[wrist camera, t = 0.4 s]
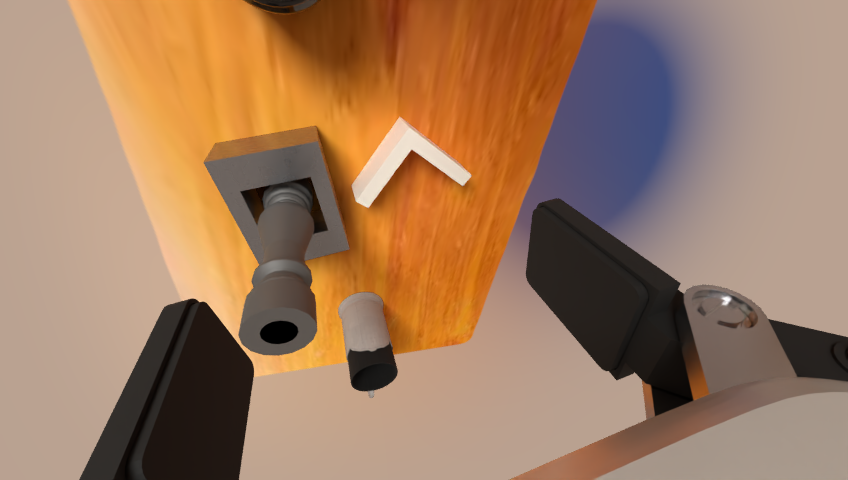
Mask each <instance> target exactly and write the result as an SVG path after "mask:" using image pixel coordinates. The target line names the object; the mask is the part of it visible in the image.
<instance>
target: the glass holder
mask: <svg viewBox="0 0 848 480" xmlns="http://www.w3.org/2000/svg"><path fill="white" fill-rule="evenodd" d="M338 313H339V316H340V318H341V319H342V325H343V333H344V341H345V349H346V357H347V360H348V364H349V371H350V379H351V385H352V387H353V388H354V389H356V390H359V391H368V394H369V397H370V398H373V397H374V390H377V389H380V388H383V387H385V386H386V385H388V384H389V383H391V382H392V381H393V380H394V379H395V378H396V376H397V372H398V371H397V366H396V363H395V359H394V355H393V351H392V350H393V347H392V343H391V340H390V336H389V332H388V328H387V324H386V321H385V317H384V313H383V301H382V299H381V298H380V297H379V296H378V295H376V294H374V293H370V292H360V293H356V294H353V295H351V296H349V297H347V298H346V299H345V300H343V302H342V303H341V304H340V306H339V309H338Z"/></svg>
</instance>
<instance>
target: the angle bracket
mask: <svg viewBox="0 0 848 480" xmlns="http://www.w3.org/2000/svg"><path fill="white" fill-rule="evenodd" d="M411 150H413V151H415V152H416V153H418V154H419V155H420V156H422V157H423V158H425V159H426V160H427V161H429V162H430V163H431V164H433V165H434V166H436V167H437V168H438V169H440V170H441V171H442V172H444V173H445V174H447V175H448V176H449V177H451V178H452V179H454V180H455V181H456V182H458V183H459V184H460V185H462V186H464V184H465V183H466V182H467V181H468V180H469V178H470V177H471V176H472V175H471V174H470V173H469V172H468V171H467V170H466V169H465V168H464V167H463V166H462V165H461V164H460V163H459V162H458V161H456V160H455V159H454V158H453V157H451V156H450V155H449V154H447V153H446V152H445V151H444V150H442V149H441V148H440V147H438V146H437V145H436V144H435V143H433V142H432V141H431V140H429V139H428V138H427V137H426V136H424V135H423V134H422V133H420V132H419V131H418V130H417V129H415V128H414V127H413V126H411V125H410V124H409V123H407V122H406V121H405V120H404V119H402V118H401V117H399V118H398V120H397V121H396V122H395V124H394V125H393V127H392V128H391V129H390V131H389V132H388V134H387V135H386V137H385V138H384V140H383V141H382V142H381V144H380V145H379V147H378V148H377V150H376V151H375V152H374V154H373V155H372V157H371V158H370V160H369V161H368V162H367V164H366V165H365V167H364V168H363V170H362V171H361V172H360V174H359V175H358V177H357V178H356V180H355V181H354V182H353V184H352V189H353V193H354V196H355V200H356V202H358V203H360V204H362V205H363V206H365V207H367V208H369V206H370V205H371V204H372V202H373V201H374V199H375V198H376V197H377V195H378V194H379V193H380V191H381V190H382V189H383V187H384V186H385V185H386V183H387V182H388V181H389V179H390V178H391V177H392V175H393V174H394V172H395V171H396V170H397V168H398V167H399V166H400V164H401V163H402V162H403V160H404V159H405V158H406V156H407V155H408V154H409V152H410V151H411Z"/></svg>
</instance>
